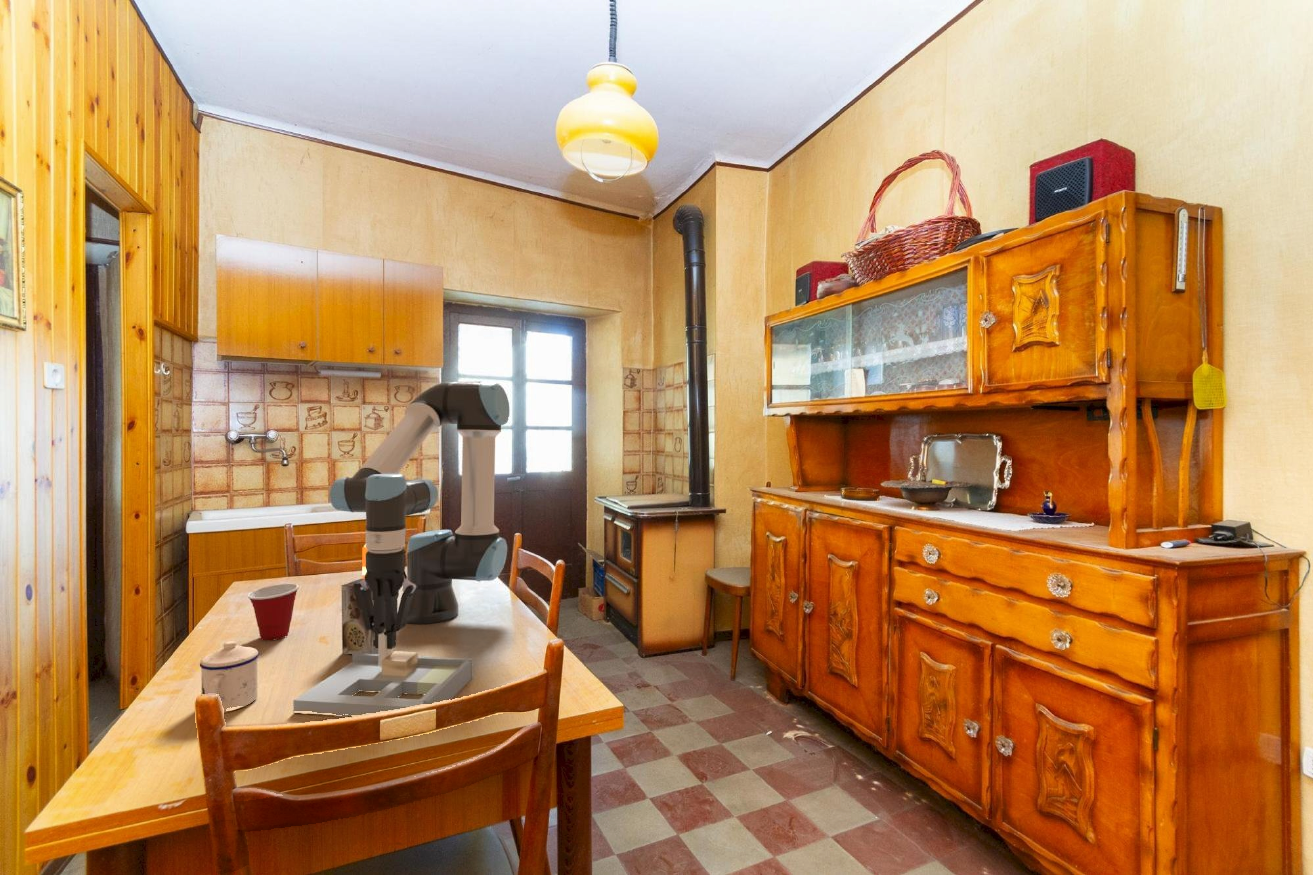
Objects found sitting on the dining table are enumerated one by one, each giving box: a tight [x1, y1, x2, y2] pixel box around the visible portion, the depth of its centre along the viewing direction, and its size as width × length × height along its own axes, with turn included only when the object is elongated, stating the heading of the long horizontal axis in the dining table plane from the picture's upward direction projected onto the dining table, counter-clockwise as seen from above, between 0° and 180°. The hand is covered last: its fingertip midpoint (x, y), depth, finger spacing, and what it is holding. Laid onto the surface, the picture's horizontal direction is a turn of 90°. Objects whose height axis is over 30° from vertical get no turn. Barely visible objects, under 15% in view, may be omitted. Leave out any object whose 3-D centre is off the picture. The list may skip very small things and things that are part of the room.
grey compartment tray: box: [292, 653, 474, 718], centre depth 118 cm, size 20×26×4 cm
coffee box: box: [341, 578, 386, 656], centre depth 140 cm, size 9×6×16 cm
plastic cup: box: [246, 582, 299, 641], centre depth 149 cm, size 11×11×12 cm
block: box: [382, 650, 419, 676], centre depth 124 cm, size 5×5×3 cm
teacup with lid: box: [199, 640, 260, 714], centre depth 112 cm, size 12×9×12 cm
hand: (385, 663), depth 124 cm, fingers closed
